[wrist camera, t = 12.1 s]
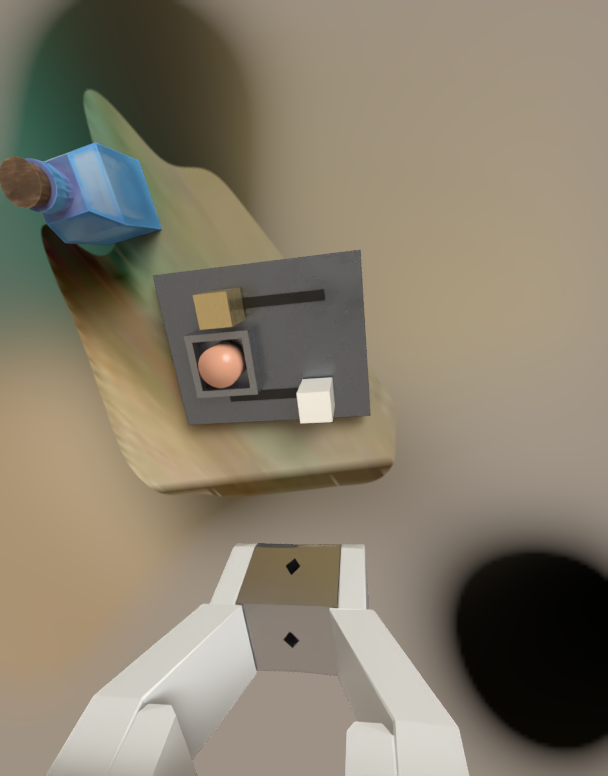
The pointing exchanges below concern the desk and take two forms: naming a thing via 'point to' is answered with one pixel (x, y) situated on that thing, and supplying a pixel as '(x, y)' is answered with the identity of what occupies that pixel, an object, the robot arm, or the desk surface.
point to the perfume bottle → (84, 194)
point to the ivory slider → (316, 400)
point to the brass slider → (219, 308)
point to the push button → (222, 364)
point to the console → (272, 336)
